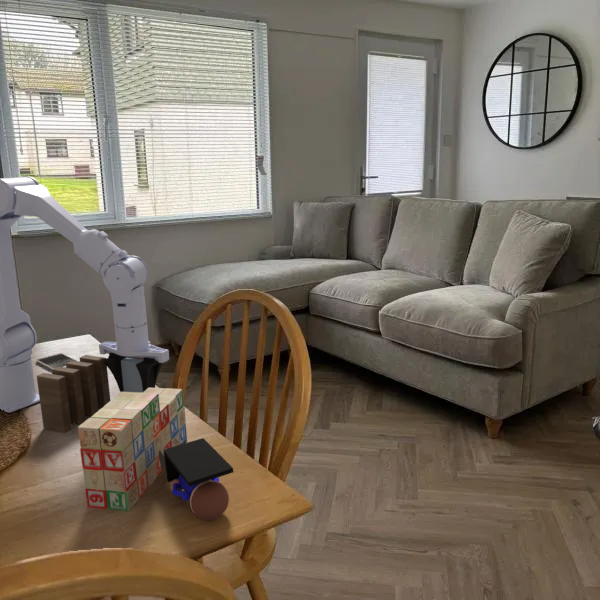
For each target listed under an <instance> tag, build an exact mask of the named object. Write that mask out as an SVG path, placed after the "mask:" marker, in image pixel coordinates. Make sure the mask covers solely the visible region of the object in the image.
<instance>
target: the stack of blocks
mask: <svg viewBox="0 0 600 600" xmlns="http://www.w3.org/2000/svg"><path fill="white" fill-rule="evenodd" d="M184 405H185V404H184V392H183V389H182V388H168V387H166V388H163V387H162V388H161V387H155V388H147V389H146V390H145V391H144V392H143V393H138V392H120V391H119V393H118V394H117V395H115V396H114V397H113V398H112V399H110V402H108V403H107V404H106V405H105V406H104V407H103V408H101V409H98V412H96V413H95V414H94V415H93V416H92V417H88V418H87V419H85V422H84V423H82V424H80V425H78V427H77V428H78V429H77V430H78V438H79V445H80V448H79V449H80V450H79V452H80V458H81V467H82V470H83V473H82V474H83V476H84V477H83V479H84V480H83V481H84V486H85V489H84V491H85V497H86V505H87V508H91V509H103V510H112V511H113V510H114V511H124V512H129V511H130V510H131V509H132V508H133V506H134V505H135V504H136V503H137V502H138V501H139V499H140V498H142V497H143V495H144V493H146V491H147V490H148V489H149V488H150V486H151V485H152V484H153V483H154V481H156V479H157V478H158V476H159V475H160V473H161V472H163V470H162V467H161V464H160V460H159V450H163V449H166V448H171V447H174V446H178V445H181V444H184V443H185V442H187V439H188V435H187V423H186V420H187V419H186V408H185V406H184Z"/></svg>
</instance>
